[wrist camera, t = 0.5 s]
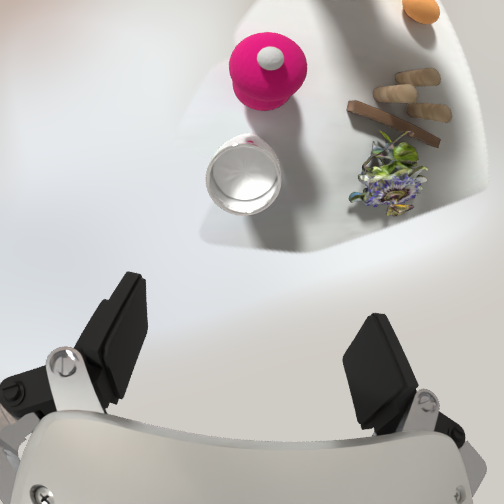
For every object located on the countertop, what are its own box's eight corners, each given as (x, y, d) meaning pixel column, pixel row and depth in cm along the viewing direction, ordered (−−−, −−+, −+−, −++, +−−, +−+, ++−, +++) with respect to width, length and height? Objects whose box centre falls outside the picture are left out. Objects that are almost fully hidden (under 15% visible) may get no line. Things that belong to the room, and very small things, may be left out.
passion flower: (364, 181, 43) (347, 224, 36) (353, 121, 36) (333, 152, 30) (427, 184, 36) (426, 232, 30) (424, 121, 29) (427, 154, 23)
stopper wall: (348, 100, 31) (356, 100, 29) (429, 136, 33) (440, 139, 30) (346, 110, 32) (353, 110, 30) (427, 144, 34) (438, 148, 31)
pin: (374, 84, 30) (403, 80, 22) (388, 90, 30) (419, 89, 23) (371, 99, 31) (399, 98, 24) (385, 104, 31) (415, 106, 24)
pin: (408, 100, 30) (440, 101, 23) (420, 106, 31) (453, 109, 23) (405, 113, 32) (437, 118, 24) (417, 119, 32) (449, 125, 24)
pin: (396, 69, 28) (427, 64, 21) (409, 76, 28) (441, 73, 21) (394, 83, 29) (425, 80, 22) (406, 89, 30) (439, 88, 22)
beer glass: (214, 140, 35) (190, 158, 22) (263, 123, 34) (268, 129, 21) (232, 185, 38) (220, 228, 25) (279, 169, 37) (294, 204, 24)
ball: (397, -10, 21) (414, -21, 15) (427, 8, 21) (447, 0, 16) (394, 16, 23) (413, 6, 18) (425, 33, 24) (446, 27, 19)
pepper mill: (252, 53, 29) (251, -6, 11) (299, 79, 30) (346, 47, 13) (225, 95, 32) (192, 76, 14) (271, 120, 33) (290, 128, 16)
